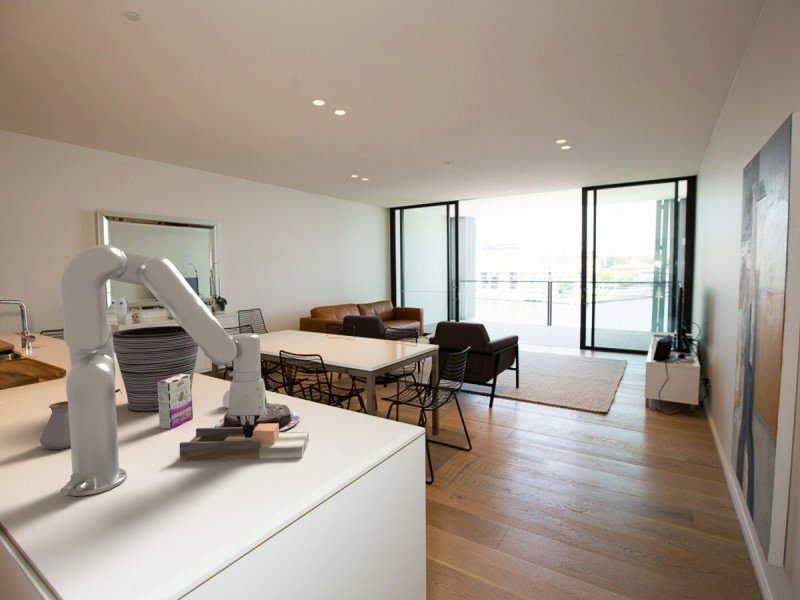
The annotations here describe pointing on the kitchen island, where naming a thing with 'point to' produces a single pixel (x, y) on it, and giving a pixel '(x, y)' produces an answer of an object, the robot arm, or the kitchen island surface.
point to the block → (266, 433)
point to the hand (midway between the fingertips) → (249, 436)
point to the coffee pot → (58, 427)
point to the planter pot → (152, 361)
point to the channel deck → (240, 445)
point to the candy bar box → (175, 401)
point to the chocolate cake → (266, 418)
